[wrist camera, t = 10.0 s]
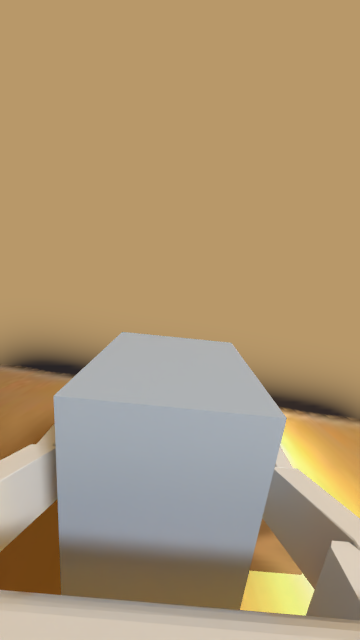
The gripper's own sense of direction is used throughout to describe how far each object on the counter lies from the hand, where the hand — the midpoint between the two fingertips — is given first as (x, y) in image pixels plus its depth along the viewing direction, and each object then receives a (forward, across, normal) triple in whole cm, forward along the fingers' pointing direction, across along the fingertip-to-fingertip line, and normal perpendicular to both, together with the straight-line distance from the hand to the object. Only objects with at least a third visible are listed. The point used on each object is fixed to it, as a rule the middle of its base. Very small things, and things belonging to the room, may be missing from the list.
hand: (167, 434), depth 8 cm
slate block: (-1, 0, +6) cm, 6 cm away
